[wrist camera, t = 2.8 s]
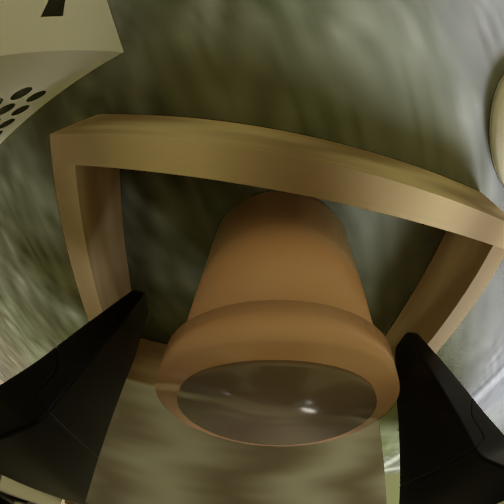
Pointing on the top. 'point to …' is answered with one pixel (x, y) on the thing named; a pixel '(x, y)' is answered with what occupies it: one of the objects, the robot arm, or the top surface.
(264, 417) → the pot
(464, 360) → the top surface
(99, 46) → the grater
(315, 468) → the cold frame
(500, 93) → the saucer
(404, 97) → the top surface
